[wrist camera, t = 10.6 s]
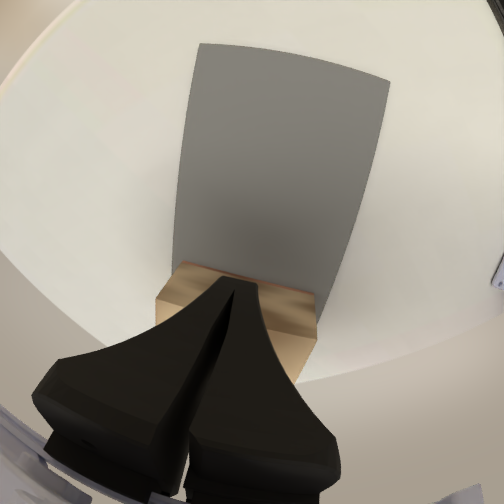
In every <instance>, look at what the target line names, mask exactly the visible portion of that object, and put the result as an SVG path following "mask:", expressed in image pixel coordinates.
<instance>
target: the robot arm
mask: <svg viewBox="0 0 504 504" xmlns="http://www.w3.org/2000/svg"><path fill="white" fill-rule="evenodd" d="M492 285H493V287H495V288H498V289H501V290H504V257H503V260H502V262H501V264H500V266H499V268H498V270H497V272H496V274H495V276H494V278H493V281H492ZM31 396H32V399H33V403H34V405H35V407H36V408H37V410H38V411H39V412H40V414H41V415H42V416H43V417H44V419H45V420H46V421H47V423H48V424H49V425H50V426H51V427H52V429H53V430H54V431H53V432H52V434H51V436H50V438H49V439H48V440H47V439H45V438H44V437H42V436H41V435H40V434H38V433H36V432H35V431H34V430H32V429H31V428H30V427H28V426H27V425H26V424H24V423H23V422H22V421H20V420H19V419H18V418H16V417H15V416H14V415H13V414H12V413H10V412H9V411H8V410H7V409H6V408H4V407H3V406H2V405H1V404H0V504H91V501H92V497H91V496H89V495H87V494H86V493H84V492H82V491H81V490H79V489H78V488H76V487H75V486H73V485H72V484H70V483H69V482H68V481H67V480H65V479H63V478H62V477H60V476H58V475H57V474H56V473H54V472H53V471H51V470H50V469H48V465H47V463H46V462H48V463H49V464H51V465H52V466H54V467H55V468H57V469H59V470H60V471H62V472H64V473H65V474H67V475H68V476H70V477H72V478H73V479H75V480H77V481H79V482H81V483H82V484H84V485H86V486H88V487H90V488H92V489H94V490H96V491H98V492H100V493H102V494H104V495H106V496H108V497H110V498H112V499H115V500H117V501H119V502H121V503H124V504H319V494H320V492H322V491H324V490H325V489H327V488H329V487H330V486H332V485H333V484H335V483H336V482H337V481H338V480H339V479H340V475H341V463H340V456H339V450H338V446H337V442H336V438H335V436H334V435H333V434H332V433H331V432H330V431H329V430H328V429H327V428H326V427H325V426H324V425H323V424H322V422H321V421H320V420H319V419H318V418H317V417H316V415H315V414H314V413H313V412H312V410H311V409H310V408H309V407H308V405H307V404H306V403H305V401H304V400H303V399H302V398H301V396H300V394H299V393H298V391H297V389H296V388H295V386H294V385H293V383H292V382H291V380H290V379H289V377H288V375H287V374H286V372H285V370H284V368H283V366H282V364H281V362H280V360H279V358H278V356H277V354H276V352H275V350H274V347H273V345H272V343H271V340H270V337H269V335H268V332H267V329H266V326H265V322H264V319H263V315H262V312H261V307H260V302H259V295H258V285H257V283H254V282H250V281H245V280H241V279H236V278H232V277H228V276H221V277H219V278H218V279H217V280H216V281H215V282H214V283H213V284H212V285H211V286H210V287H209V288H208V289H207V290H205V291H204V292H203V293H202V294H201V295H200V296H198V297H197V298H196V299H195V300H193V301H192V302H191V303H190V304H188V305H187V306H186V307H184V308H183V309H181V310H180V311H179V312H177V313H176V314H174V315H173V316H171V317H170V318H168V319H167V320H165V321H163V322H162V323H160V324H158V325H157V326H155V327H153V328H151V329H149V330H147V331H145V332H143V333H141V334H139V335H137V336H135V337H133V338H130V339H128V340H126V341H124V342H121V343H118V344H115V345H113V346H110V347H107V348H104V349H101V350H98V351H94V352H90V353H86V354H82V355H77V356H73V357H68V358H63V359H58V360H57V361H56V362H55V364H54V365H53V366H52V367H51V368H50V369H49V371H48V372H47V373H46V375H45V376H44V378H43V379H42V380H41V382H40V383H39V385H38V386H37V387H36V389H35V391H34V392H33V394H32V395H31ZM188 453H189V463H190V464H189V468H188V471H187V474H186V478H185V481H184V484H183V488H185V491H186V497H187V499H186V502H183V501H179V500H176V499H173V498H170V497H172V496H174V495H176V494H178V491H179V487H180V483H181V479H182V476H183V472H184V468H185V464H186V460H187V456H188ZM430 504H484V501H483V495H482V490H481V484H479V483H478V484H476V485H473V486H470V487H468V488H465V489H462V490H460V491H457V492H455V493H452V494H450V495H449V496H446V497H444V498H443V499H441V500H440V501H437V502H434V503H430Z"/></svg>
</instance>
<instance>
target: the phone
mask: <svg viewBox="0 0 504 504" xmlns="http://www.w3.org/2000/svg"><path fill="white" fill-rule="evenodd" d="M487 2H488V4H489V6H490V8H491V10H492V12H493V14H494V16H495V18H496V20H497V22H498V24H499V26H500V29H501V31H502V33H503V36H504V0H487Z"/></svg>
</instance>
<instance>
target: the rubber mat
mask: <svg viewBox="0 0 504 504" xmlns="http://www.w3.org/2000/svg"><path fill="white" fill-rule="evenodd" d="M389 87H390V81H388V80H385V79H382V78H379V77H377V76H374V75H371V74H368V73H365V72H362V71H359V70H356V69H352V68H349V67H346V66H342V65H339V64H335V63H331V62H328V61H324V60H320V59H315V58H311V57H306V56H302V55H297V54H292V53H286V52H281V51H275V50H268V49H261V48H254V47H245V46H235V45H222V44H203V43H200V44H199V48H198V53H197V58H196V63H195V68H194V73H193V78H192V84H191V89H190V95H189V101H188V107H187V113H186V120H185V127H184V134H183V141H182V149H181V157H180V166H179V175H178V185H177V195H176V207H175V220H174V235H173V253H172V275H173V273H174V272H175V270H176V269H177V268H178V266H179V265H180V263H181V262H182V261H187V262H191V263H195V264H198V265H202V266H206V267H210V268H214V269H217V270H221V271H225V272H229V273H233V274H237V275H241V276H245V277H249V278H253V279H257V280H261V281H265V282H269V283H273V284H277V285H281V286H285V287H289V288H294V289H298V290H302V291H306V292H310V293H314V300H315V313H316V326H317V323H318V321H319V319H320V316H321V314H322V311H323V309H324V306H325V304H326V301H327V299H328V296H329V294H330V291H331V288H332V286H333V283H334V281H335V278H336V275H337V273H338V270H339V267H340V264H341V262H342V259H343V256H344V253H345V250H346V247H347V244H348V242H349V239H350V236H351V233H352V230H353V226H354V223H355V220H356V217H357V214H358V211H359V208H360V204H361V201H362V198H363V194H364V191H365V187H366V184H367V180H368V177H369V173H370V170H371V166H372V162H373V158H374V154H375V150H376V146H377V142H378V138H379V134H380V130H381V125H382V121H383V116H384V112H385V107H386V102H387V97H388V92H389Z"/></svg>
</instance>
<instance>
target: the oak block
mask: <svg viewBox="0 0 504 504" xmlns="http://www.w3.org/2000/svg"><path fill="white" fill-rule="evenodd" d="M221 276H228V277H232V278H236V279H241V280H245V281H250V282H254V283H257V285H258V295H259V302H260V307H261V312H262V315H263V319H264V322H265V326H266V329H267V332H268V335H269V337H270V340H271V343H272V345H273V347H274V350H275V352H276V354H277V356H278V358H279V360H280V362H281V364H282V366H283V368H284V370H285V372H286V374H287V375H288V377H289V379H290V380H291V382H292V383H293V385H294V384H295V382H296V380H297V378H298V376H299V374H300V373H301V371H302V369H303V367H304V365H305V363H306V361H307V359H308V357H309V355H310V354H311V352H312V350H313V348H314V346H315V344H316V342H317V327H316V313H315V300H314V293H310V292H306V291H302V290H298V289H294V288H289V287H285V286H281V285H277V284H273V283H269V282H265V281H261V280H257V279H253V278H249V277H245V276H241V275H237V274H233V273H229V272H225V271H221V270H217V269H214V268H210V267H206V266H202V265H198V264H195V263H191V262H187V261H182V262H181V263H180V265H179V266H178V268H177V269H176V270H175V272H174V273H173V275H172V276H171V277H170V279H169V280H168V282H167V283H166V284H165V286H164V287H163V289H162V290H161V291H160V293H159V294H158V296H157V297H156V326H157V325H158V324H160V323H162V322H163V321H165V320H167V319H168V318H170V317H171V316H173V315H174V314H176V313H177V312H179V311H180V310H181V309H183V308H184V307H186V306H187V305H188V304H190V303H191V302H192V301H193V300H195V299H196V298H197V297H198V296H200V295H201V294H202V293H203V292H204V291H205V290H207V289H208V288H209V287H210V286H211V285H212V284H213V283H214V282H215V281H216V280H217V279H218V278H219V277H221Z"/></svg>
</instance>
